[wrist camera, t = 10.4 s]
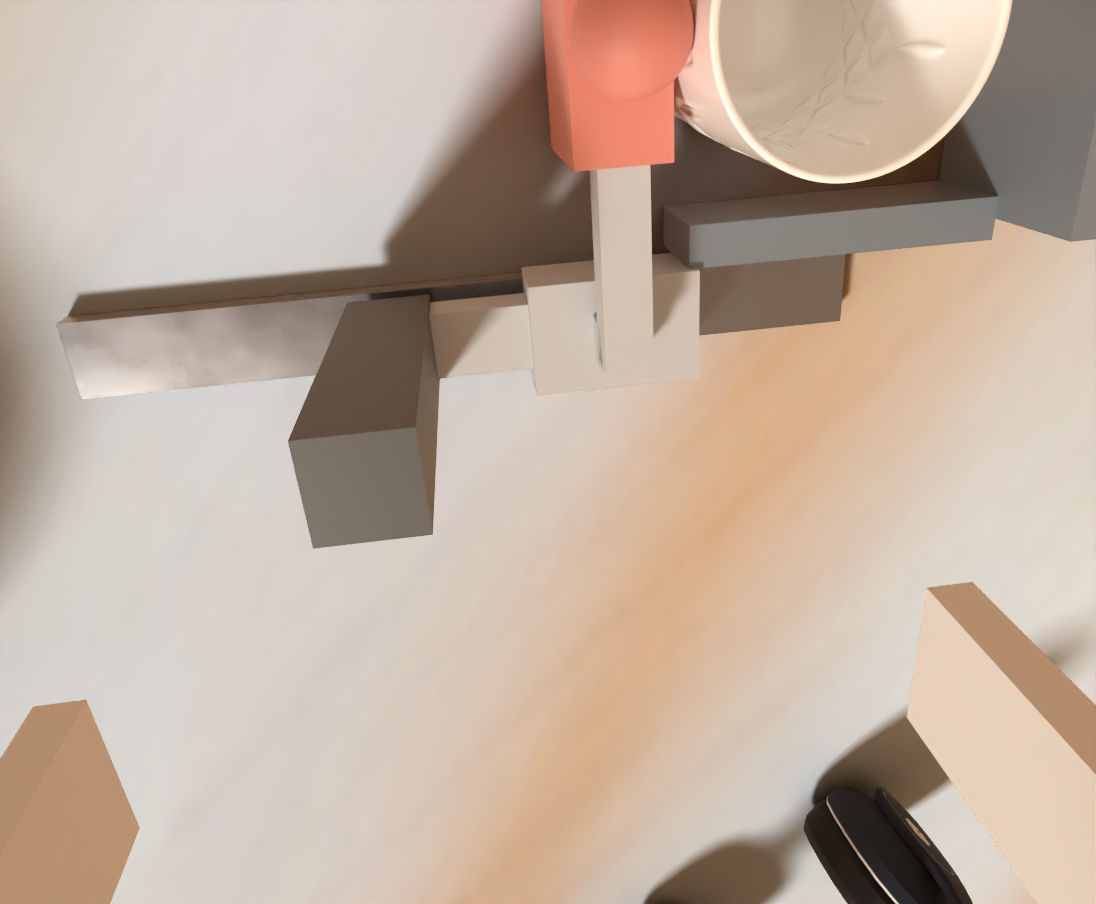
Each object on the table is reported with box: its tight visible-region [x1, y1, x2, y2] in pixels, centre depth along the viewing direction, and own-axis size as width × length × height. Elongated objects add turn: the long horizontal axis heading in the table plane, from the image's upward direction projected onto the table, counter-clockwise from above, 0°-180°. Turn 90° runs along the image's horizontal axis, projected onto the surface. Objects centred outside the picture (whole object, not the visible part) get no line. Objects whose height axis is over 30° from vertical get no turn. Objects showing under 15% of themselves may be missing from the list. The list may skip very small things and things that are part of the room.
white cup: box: [674, 0, 1013, 183], centre depth 25 cm, size 8×8×10 cm
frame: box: [663, 0, 1096, 269], centre depth 26 cm, size 12×15×8 cm
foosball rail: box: [56, 254, 846, 399], centre depth 33 cm, size 30×3×1 cm, turn 94°
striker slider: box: [288, 0, 700, 548], centre depth 24 cm, size 12×15×14 cm
